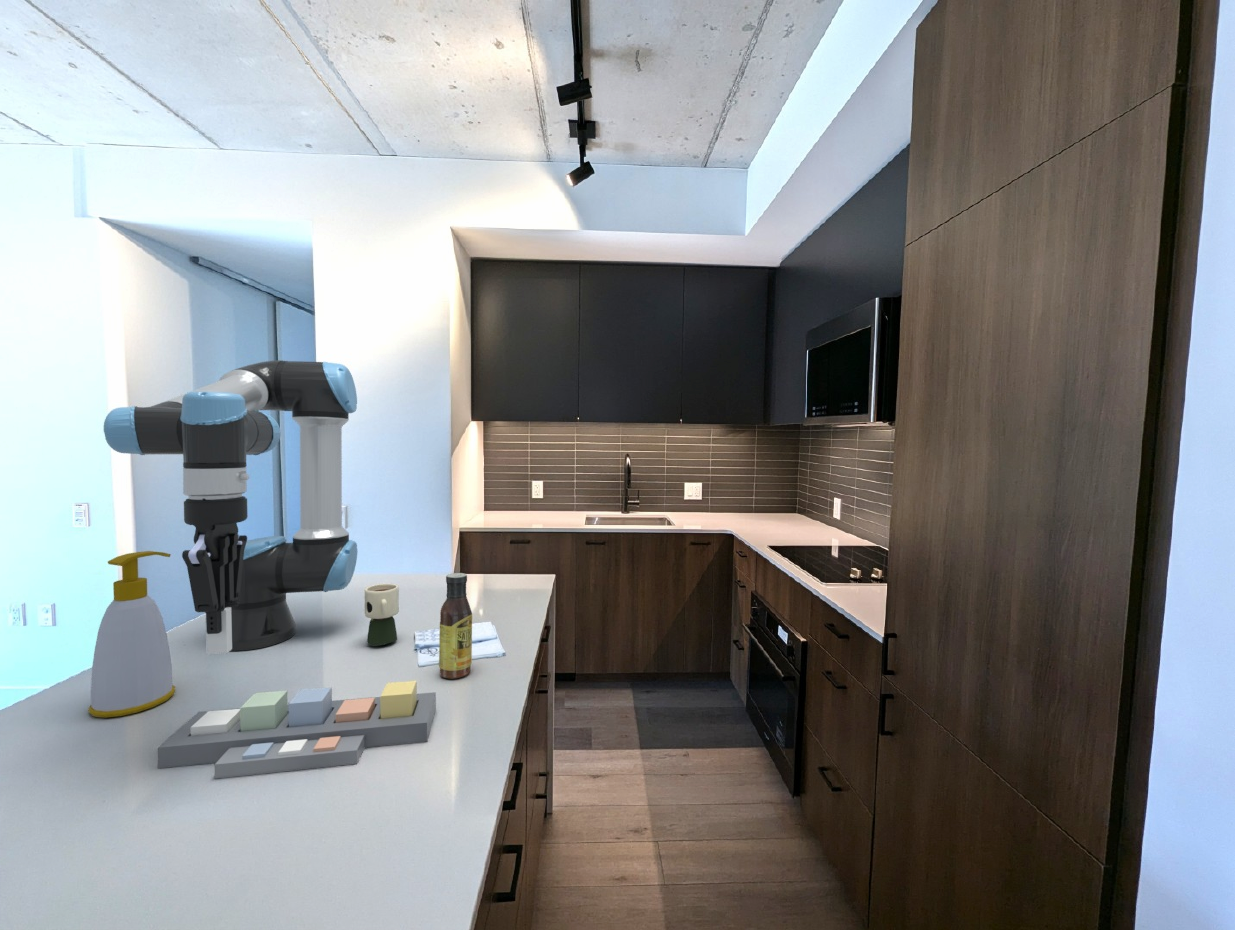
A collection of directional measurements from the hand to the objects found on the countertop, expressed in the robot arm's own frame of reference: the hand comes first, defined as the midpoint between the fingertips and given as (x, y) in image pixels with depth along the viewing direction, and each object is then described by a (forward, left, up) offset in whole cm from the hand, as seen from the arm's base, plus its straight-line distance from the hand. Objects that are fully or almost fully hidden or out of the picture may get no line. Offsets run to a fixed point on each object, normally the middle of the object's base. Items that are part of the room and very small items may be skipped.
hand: (219, 651), depth 79 cm
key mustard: (0, +26, -12) cm, 28 cm away
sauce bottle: (-19, +33, -15) cm, 40 cm away
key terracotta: (0, +19, -14) cm, 24 cm away
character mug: (-38, +15, -15) cm, 43 cm away
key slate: (0, +13, -12) cm, 17 cm away
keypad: (+2, +12, -14) cm, 19 cm away
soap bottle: (-17, -21, -15) cm, 31 cm away
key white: (0, -1, -14) cm, 14 cm away
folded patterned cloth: (-34, +32, -15) cm, 49 cm away
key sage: (0, +6, -12) cm, 13 cm away
